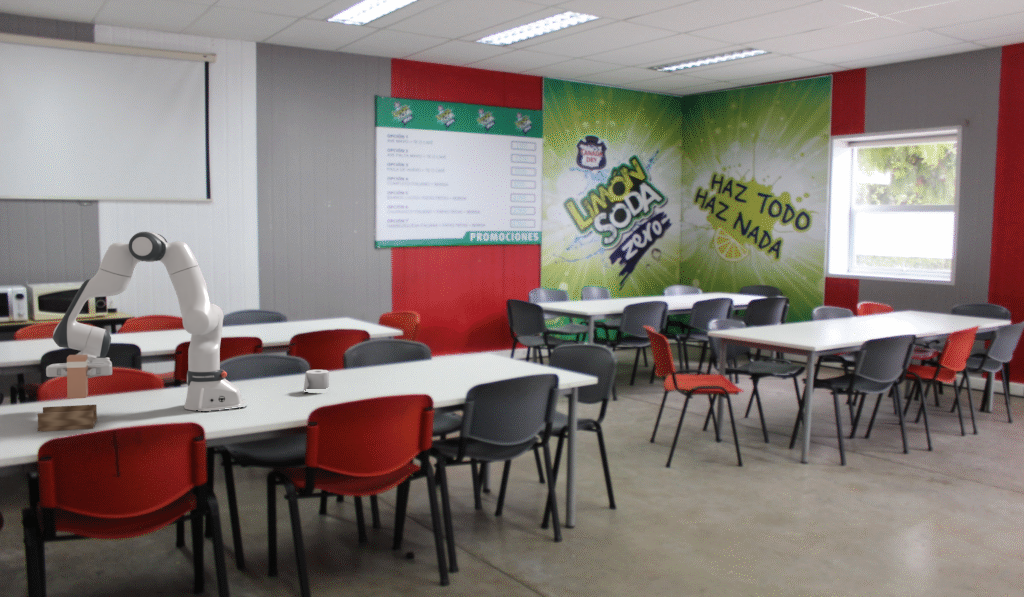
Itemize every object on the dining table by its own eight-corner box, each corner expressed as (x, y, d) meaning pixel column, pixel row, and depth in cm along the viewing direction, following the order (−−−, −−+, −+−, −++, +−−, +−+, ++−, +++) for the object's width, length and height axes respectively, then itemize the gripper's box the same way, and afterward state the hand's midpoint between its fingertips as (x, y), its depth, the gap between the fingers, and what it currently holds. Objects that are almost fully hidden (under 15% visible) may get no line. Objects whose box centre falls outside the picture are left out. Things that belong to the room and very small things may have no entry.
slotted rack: (96, 420, 274) (96, 403, 273) (92, 428, 263) (92, 411, 262) (44, 423, 268) (43, 406, 267) (37, 431, 257) (37, 414, 256)
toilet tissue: (299, 395, 323) (299, 374, 322) (310, 389, 336) (310, 369, 335) (321, 396, 322) (321, 375, 321) (331, 389, 335) (331, 370, 334)
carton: (88, 394, 272) (87, 354, 271) (85, 397, 267) (85, 357, 266) (69, 395, 270) (69, 354, 269) (67, 398, 265) (66, 357, 264)
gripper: (49, 358, 276) (41, 365, 263) (114, 357, 283) (110, 363, 270) (49, 376, 276) (42, 384, 263) (114, 374, 284) (110, 381, 271)
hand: (77, 373), depth 267 cm, fingers closed on carton, 5 cm apart
